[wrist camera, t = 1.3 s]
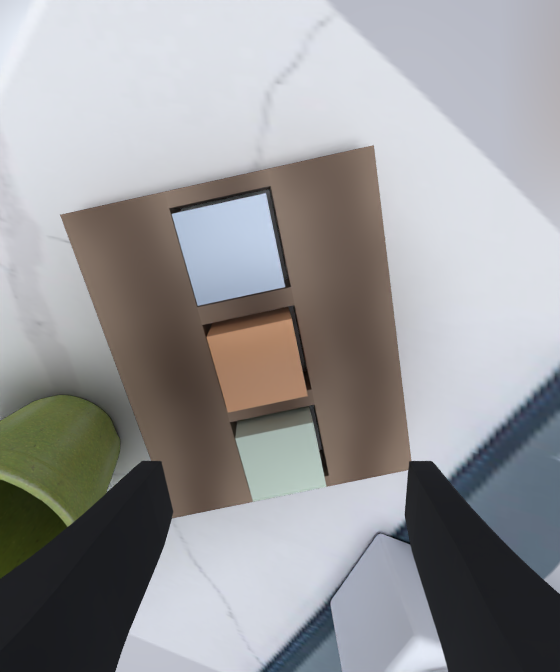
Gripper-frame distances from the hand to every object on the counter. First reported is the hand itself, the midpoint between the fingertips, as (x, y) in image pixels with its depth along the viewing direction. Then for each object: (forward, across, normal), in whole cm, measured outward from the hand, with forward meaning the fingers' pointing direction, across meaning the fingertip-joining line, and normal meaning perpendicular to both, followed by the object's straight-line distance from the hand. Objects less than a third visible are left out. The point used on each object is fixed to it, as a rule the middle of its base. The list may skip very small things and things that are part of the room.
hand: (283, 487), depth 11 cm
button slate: (+10, +3, -5) cm, 12 cm away
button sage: (+10, +1, +6) cm, 11 cm away
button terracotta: (+10, +2, 0) cm, 10 cm away
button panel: (+11, +2, 0) cm, 11 cm away
